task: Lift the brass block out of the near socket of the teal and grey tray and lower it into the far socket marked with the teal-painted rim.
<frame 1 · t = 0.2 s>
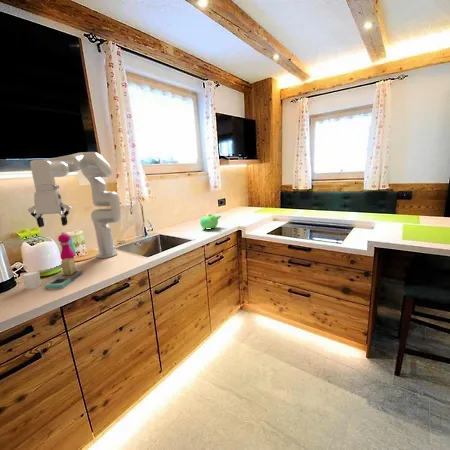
hand: (53, 225, 108), 30 cm above the worktop, fingers open, 9 cm apart
green teapot: (210, 229, 221), on the worktop
nut block: (70, 277, 124), resting in teal and grey tray
pepper mill: (68, 263, 146), on the worktop
teal and grey tray: (65, 280, 120), on the worktop
white cylinder: (33, 287, 115), on the worktop
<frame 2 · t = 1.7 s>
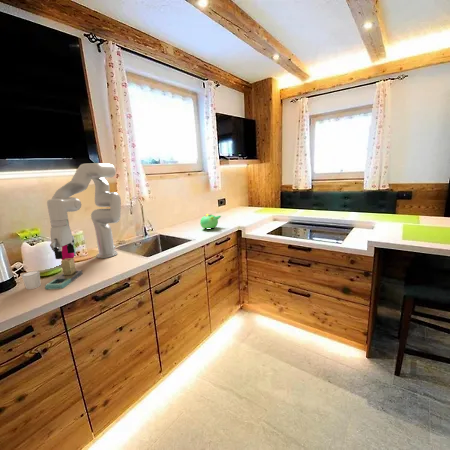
hand: (65, 255, 121), 12 cm above the worktop, fingers open, 9 cm apart
nothing on the worktop moved.
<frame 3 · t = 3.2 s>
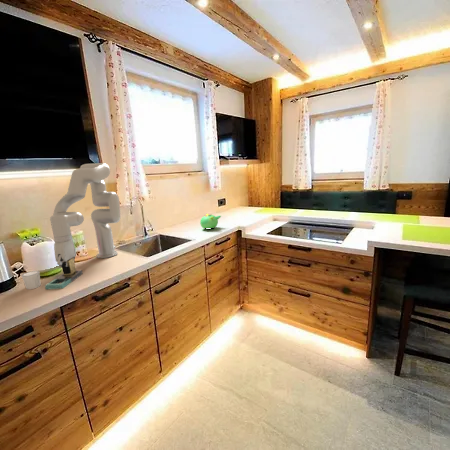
hand: (69, 271, 123), 3 cm above the worktop, fingers closed on nut block, 4 cm apart
nut block: (70, 277, 124), resting in teal and grey tray, touching gripper
everything else where it was.
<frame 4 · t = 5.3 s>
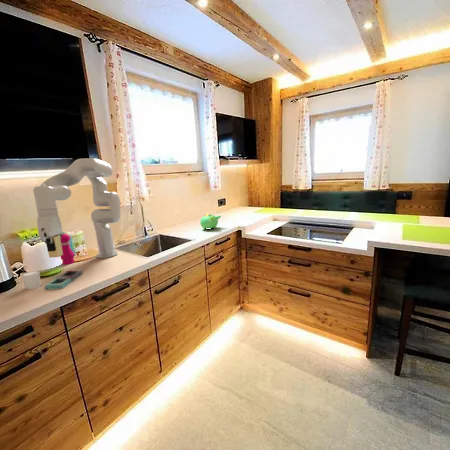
hand: (54, 249, 113), 18 cm above the worktop, fingers closed on nut block, 4 cm apart
nut block: (56, 256, 114), point 15 cm above the worktop, touching gripper
everything else where it was.
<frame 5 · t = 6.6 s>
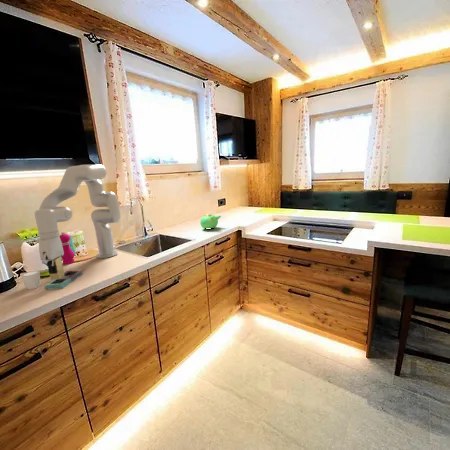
hand: (56, 271, 114), 7 cm above the worktop, fingers closed on nut block, 4 cm apart
nut block: (57, 277, 114), point 4 cm above the worktop, touching gripper
everything else where it was.
when the fingers open (4 cm above the worktop, at t = 7.7 s): nut block stays where it is, resting in teal and grey tray.
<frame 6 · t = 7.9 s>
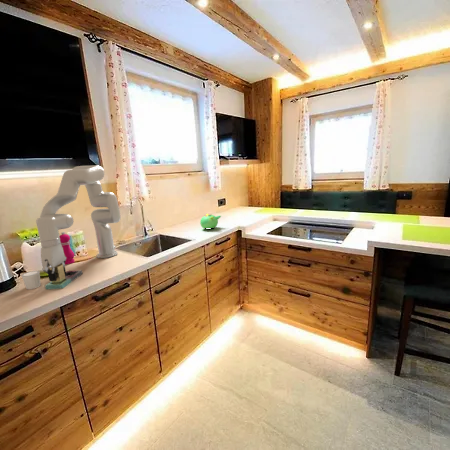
hand: (58, 277, 114), 4 cm above the worktop, fingers open, 6 cm apart
nut block: (59, 285, 115), resting in teal and grey tray
everything else where it was.
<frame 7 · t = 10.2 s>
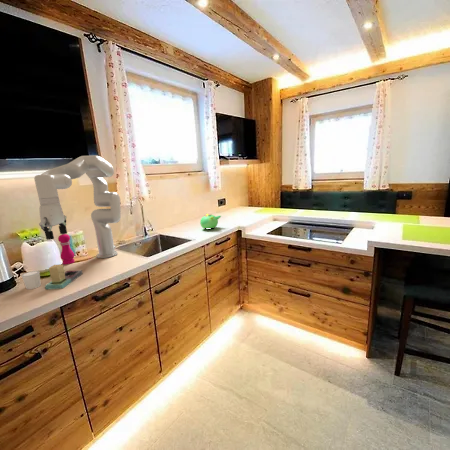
hand: (57, 236, 113), 24 cm above the worktop, fingers open, 9 cm apart
nothing on the worktop moved.
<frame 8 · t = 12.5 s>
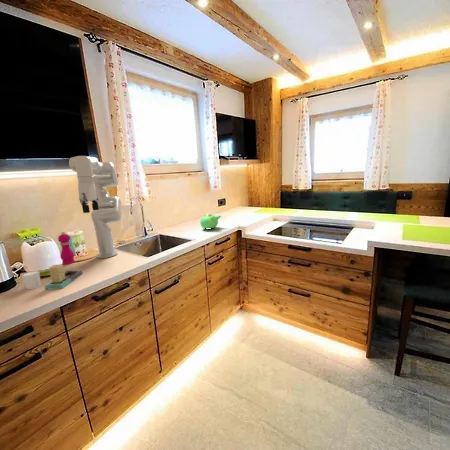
hand: (91, 211, 129), 33 cm above the worktop, fingers open, 9 cm apart
nothing on the worktop moved.
at the end: nut block 0.1 cm from the target spot on the teal and grey tray, point 0.0 cm above the teal and grey tray's base; nut block tilted 0°; the gripper is holding nothing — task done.
